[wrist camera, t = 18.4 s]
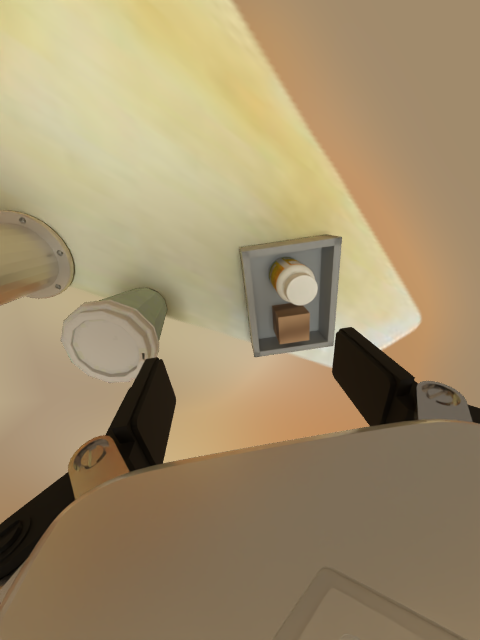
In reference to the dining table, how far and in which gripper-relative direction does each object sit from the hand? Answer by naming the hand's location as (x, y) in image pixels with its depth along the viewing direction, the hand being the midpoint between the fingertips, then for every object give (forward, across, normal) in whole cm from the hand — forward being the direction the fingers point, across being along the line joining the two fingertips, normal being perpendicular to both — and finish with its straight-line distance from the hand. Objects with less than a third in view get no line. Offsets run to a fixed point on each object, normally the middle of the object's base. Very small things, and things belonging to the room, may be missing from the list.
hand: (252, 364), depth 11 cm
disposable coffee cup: (+27, +15, +5) cm, 31 cm away
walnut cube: (+25, -9, +10) cm, 28 cm away
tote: (+26, -9, +6) cm, 28 cm away
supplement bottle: (+25, -9, +2) cm, 27 cm away
